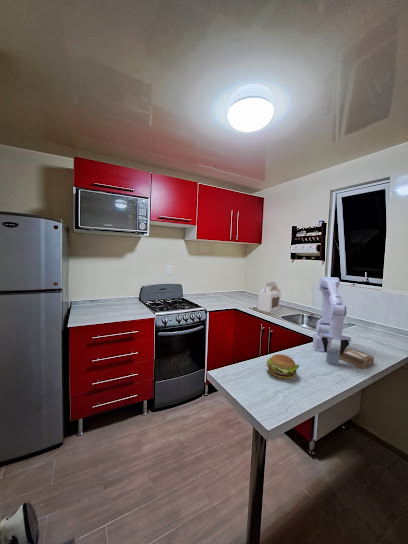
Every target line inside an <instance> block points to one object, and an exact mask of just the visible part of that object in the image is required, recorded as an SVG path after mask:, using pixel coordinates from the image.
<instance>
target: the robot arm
mask: <svg viewBox="0 0 408 544" xmlns="http://www.w3.org/2000/svg"><path fill="white" fill-rule="evenodd" d="M340 282H341V281H340V278H339V277H331V276H323V275H321V276H320V278H319V280H318V284H319V285H318V289H319V291H321V294H322V302H321V304H322V306H321V318H320V319H318V320H317V321H316V325H315V332H316V333H314V334H313V338H312V339H313V340H312V347H313V349H314V350H315V351H316V352H324V353H326V354H327V350H332V349H331V348H332V340H336V341H340V346H339V347H340V348H339V352H340V354H341V355H343V353H344V351H345V350H346V349H347V348H348V346H349V345H350V343H351V342H352V337H350V336H346V335H343V328H344V321H345V320H344V319H345V317H346V316H347V310H348V309H347V306H346V304H345V303H343V300H342V297H341V295H340V294H338V293H339V292H338V288H339V286H340Z"/></svg>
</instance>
